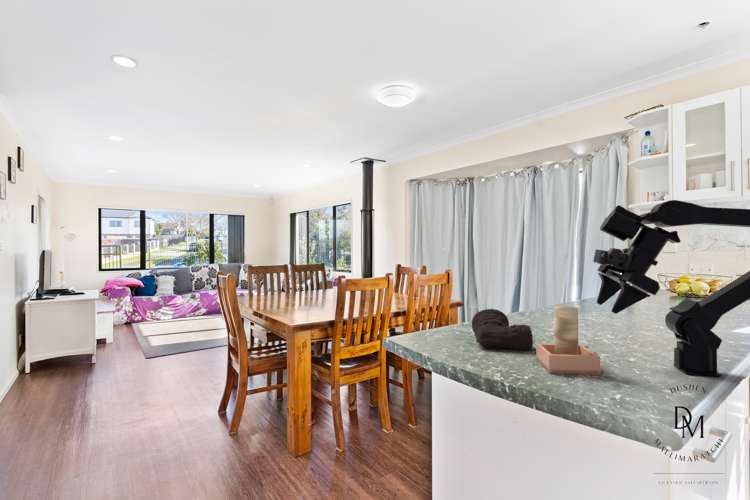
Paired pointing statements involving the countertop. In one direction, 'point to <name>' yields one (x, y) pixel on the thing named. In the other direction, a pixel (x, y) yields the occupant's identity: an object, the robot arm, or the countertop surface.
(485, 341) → the dark brown elbow
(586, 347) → the handle
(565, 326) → the beech dowel
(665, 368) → the countertop surface
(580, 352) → the box
